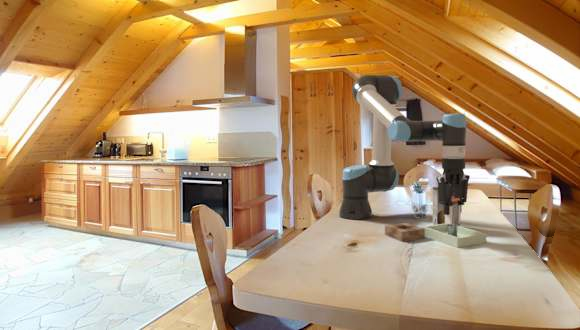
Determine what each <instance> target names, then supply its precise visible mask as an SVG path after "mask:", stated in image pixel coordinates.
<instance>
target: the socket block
mask: <svg viewBox="0 0 580 330" xmlns="http://www.w3.org/2000/svg"><path fill="white" fill-rule="evenodd" d="M421 227H422V226H418V225H414V224H411V223H408V222H403V223H396V224H395V223H394V224H386V225H384V235H385V236H387V237H390V238H391V239H395V240H396V241H399V242H402V243H403V242H410V241H416V240H421V239H425V237H426V236H425V229H424V228H421Z"/></svg>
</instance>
